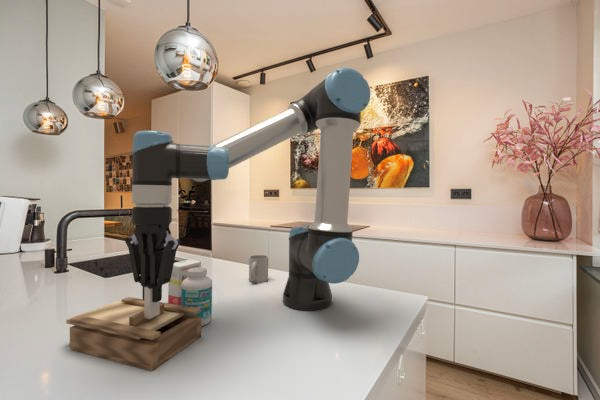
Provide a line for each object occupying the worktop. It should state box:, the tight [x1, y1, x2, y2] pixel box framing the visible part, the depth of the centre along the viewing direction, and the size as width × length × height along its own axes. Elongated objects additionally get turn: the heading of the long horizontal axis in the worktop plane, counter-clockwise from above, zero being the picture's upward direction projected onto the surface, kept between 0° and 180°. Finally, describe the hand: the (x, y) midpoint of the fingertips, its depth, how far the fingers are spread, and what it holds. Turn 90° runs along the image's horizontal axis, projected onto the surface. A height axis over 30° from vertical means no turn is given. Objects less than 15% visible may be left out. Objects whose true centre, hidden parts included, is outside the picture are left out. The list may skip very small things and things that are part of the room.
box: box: [69, 296, 202, 372], centre depth 64 cm, size 22×14×6 cm, turn 71°
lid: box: [65, 300, 184, 340], centre depth 65 cm, size 20×12×3 cm, turn 71°
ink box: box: [167, 259, 202, 306], centre depth 90 cm, size 9×5×12 cm, turn 151°
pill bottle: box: [181, 266, 213, 327], centre depth 75 cm, size 8×7×14 cm
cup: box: [248, 254, 269, 284], centre depth 111 cm, size 7×10×9 cm
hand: (152, 315), depth 63 cm, fingers closed
